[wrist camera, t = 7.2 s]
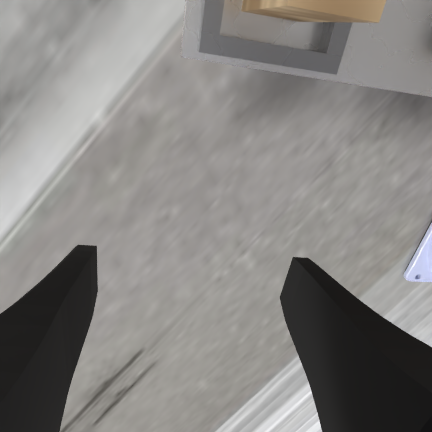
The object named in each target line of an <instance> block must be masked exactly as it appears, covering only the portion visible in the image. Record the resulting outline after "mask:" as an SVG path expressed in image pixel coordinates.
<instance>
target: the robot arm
mask: <svg viewBox="0 0 432 432" xmlns="http://www.w3.org/2000/svg"><path fill="white" fill-rule="evenodd" d="M404 277H405V279H406V280H407V281H418V282H432V223H431V225H430V227H429V229H428V230H427V232H426V234H425V236H424V238H423V240H422V242H421V243H420V245H419V247H418V249H417V251H416V253H415V255H414V256H413V258H412V260H411V262H410V264H409V266H408V267H407V269H406V271H405V273H404ZM97 292H98V286H97V246H88V245H77V246H76V247H75V248H74V249H73V250H72V251H71V252H70V253H69V254H68V255H67V256H66V257H65V258H64V259H63V260H62V261H61V262H60V263H59V264H58V265H57V266H56V267H55V268H54V269H53V270H52V271H51V272H50V273H49V274H48V275H47V276H46V277H45V278H44V279H42V280H41V281H40V282H39V283H38V284H37V285H36V286H35V287H34V288H32V289H31V290H30V291H29V292H28V293H26V294H25V295H24V296H23V297H22V298H20V299H19V300H18V301H17V302H15V303H14V304H13V305H12V306H10V307H9V308H8V309H6V310H5V311H4V312H2V313H1V314H0V432H59V431H60V426H61V421H62V417H63V413H64V408H65V404H66V400H67V395H68V391H69V387H70V384H71V380H72V377H73V374H74V371H75V368H76V365H77V362H78V359H79V356H80V353H81V350H82V347H83V344H84V341H85V338H86V335H87V332H88V329H89V326H90V323H91V320H92V316H93V312H94V307H95V302H96V297H97ZM280 300H281V305H282V309H283V313H284V317H285V321H286V324H287V327H288V329H289V332H290V335H291V337H292V340H293V342H294V345H295V347H296V350H297V353H298V355H299V358H300V360H301V363H302V365H303V368H304V370H305V373H306V376H307V378H308V381H309V384H310V387H311V391H312V394H313V398H314V401H315V405H316V409H317V412H318V416H319V420H320V424H321V428H322V432H432V347H430V346H429V345H427V344H425V343H423V342H422V341H420V340H418V339H416V338H414V337H413V336H411V335H409V334H408V333H406V332H404V331H403V330H401V329H400V328H398V327H397V326H395V325H394V324H392V323H391V322H389V321H388V320H386V319H385V318H383V317H382V316H380V315H379V314H377V313H376V312H375V311H373V310H372V309H371V308H369V307H368V306H367V305H365V304H364V303H363V302H361V301H360V300H359V299H357V298H356V297H355V296H354V295H352V294H351V293H350V292H349V291H348V290H346V289H345V288H344V287H343V286H341V285H340V284H339V283H338V282H337V281H336V280H334V279H333V278H332V277H331V276H330V275H328V274H327V273H326V272H325V271H324V270H323V269H321V268H320V267H319V266H318V265H316V264H315V263H314V262H313V261H311V260H310V259H309V258H299V257H293V259H292V262H291V265H290V268H289V271H288V274H287V277H286V280H285V283H284V286H283V289H282V292H281V295H280Z"/></svg>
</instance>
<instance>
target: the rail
mask: <svg viewBox="0 0 432 432" xmlns="http://www.w3.org/2000/svg"><path fill="white" fill-rule="evenodd" d="M242 2H243V0H185V11H184V22H183V32H182V43H181V54H180V55H181V57H184V58H190V59H196V60H202V61H209V62H215V63H221V64H228V65H234V66H240V67H246V68H253V69H259V70H265V71H272V72H278V73H284V74H290V75H297V76H303V77H309V78H316V79H322V80H328V81H334V82H341V83H347V84H353V85H360V86H366V87H372V88H378V89H385V90H391V91H397V92H404V93H410V94H416V95H422V96H429V97H432V0H386V3H385V6H384V9H383V12H382V15H381V18H380V21H379V23H360V22H297V21H292V20H286V19H281V18H275V17H270V16H264V15H259V14H253V13H247V12H242V11H241V9H242Z"/></svg>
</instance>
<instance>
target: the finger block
mask: <svg viewBox="0 0 432 432" xmlns="http://www.w3.org/2000/svg"><path fill="white" fill-rule="evenodd" d="M385 3H386V0H243V2H242V9H241V11H242V12H247V13H253V14H259V15H264V16H270V17H275V18H281V19H286V20H292V21H297V22H360V23H379V21H380V18H381V15H382V12H383V9H384V6H385Z"/></svg>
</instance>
